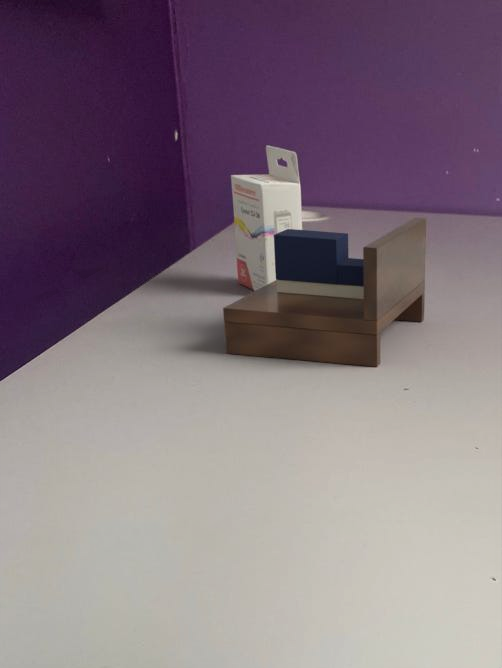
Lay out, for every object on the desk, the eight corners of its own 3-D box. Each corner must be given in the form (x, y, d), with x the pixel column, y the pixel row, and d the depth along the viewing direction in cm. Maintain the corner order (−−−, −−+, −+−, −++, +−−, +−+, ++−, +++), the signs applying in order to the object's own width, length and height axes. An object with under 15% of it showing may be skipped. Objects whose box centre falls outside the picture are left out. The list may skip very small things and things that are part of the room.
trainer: (276, 292, 98) (273, 234, 96) (289, 285, 102) (287, 228, 99) (368, 300, 97) (368, 241, 95) (379, 292, 101) (379, 235, 98)
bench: (226, 353, 93) (217, 235, 89) (296, 309, 111) (292, 208, 106) (377, 367, 92) (376, 248, 87) (424, 319, 109) (426, 218, 104)
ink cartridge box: (235, 283, 121) (226, 144, 114) (274, 280, 123) (268, 144, 116) (266, 297, 115) (258, 151, 108) (306, 294, 117) (301, 151, 110)
